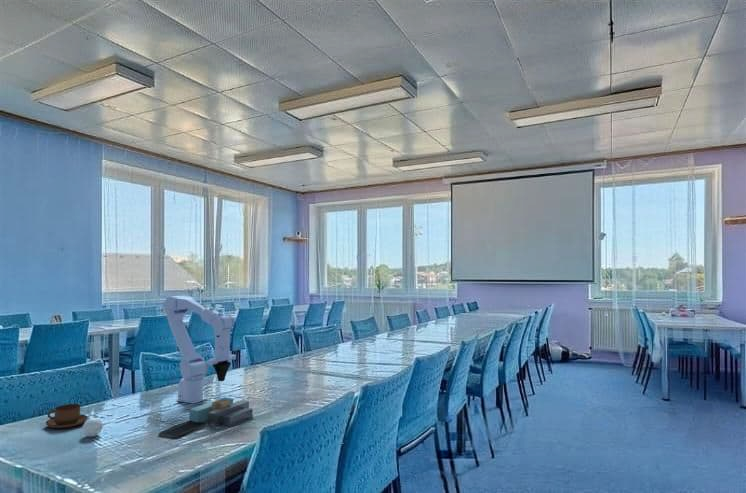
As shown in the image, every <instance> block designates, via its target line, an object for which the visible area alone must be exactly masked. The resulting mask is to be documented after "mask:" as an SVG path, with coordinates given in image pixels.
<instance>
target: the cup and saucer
mask: <svg viewBox="0 0 746 493" xmlns="http://www.w3.org/2000/svg"><path fill="white" fill-rule="evenodd" d="M51 413H54V416H51ZM47 417H48V418H49V419H47V420H46V421H45V425H46V426H47V427H49V428H52V429H68V428H73V427H77V426H80V425H82V424H83V423H85V422H86V421H87V420H88V415H85V414H81V405H80V404H79V403H78V404H76V403H69V404H62V405H59V406H56V407H54V409H51V410H49V411H48V412H47Z"/></svg>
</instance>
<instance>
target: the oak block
mask: <svg viewBox="0 0 746 493" xmlns="http://www.w3.org/2000/svg"><path fill="white" fill-rule="evenodd" d="M219 399H220V400H219ZM219 399H216V400H217V401H216V400H213V401H214V402H213V401H211V402H212V411H214V410H217V409H220V408H222V407H225V406H228V405H230V400H223V399H222V398H219Z"/></svg>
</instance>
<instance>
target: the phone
mask: <svg viewBox="0 0 746 493" xmlns="http://www.w3.org/2000/svg"><path fill="white" fill-rule="evenodd" d="M204 426H205V427H207V422H206V421H205V422H193V421H189V420H187V421H184V422H181V423H180V424H176V425H175V426H172V427H170V428H167V429H165V430H163V431H160V432H158V437H159V438H160V437H161V438H167V439H173V440H175V439H176V440H177V439H180V438H182V437H185V436H186V435H189V434H191V433H193V431H194V432H195V430H196V431H198V430H200V429H203V428H205V427H204ZM202 427H203V428H202Z"/></svg>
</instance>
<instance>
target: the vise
mask: <svg viewBox="0 0 746 493" xmlns="http://www.w3.org/2000/svg"><path fill="white" fill-rule="evenodd" d="M253 409H254V408H251V407H250V401H249V400H244V399H242V400H239V401H236V402H233V404H231V405H228V406H225V407H222V408H220V409H217V410H214V411H211V412H209V413H208V420H207V427H212V428H216V427H219V426H221V425H222V426H226V427H232V426H234V425H237V424H239V423H242V422H244V421H245V420H248V419H251V418H253V411H254V410H253Z"/></svg>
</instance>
